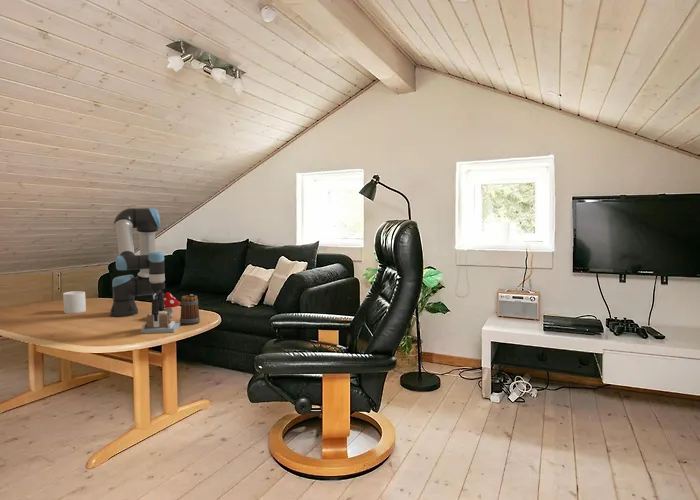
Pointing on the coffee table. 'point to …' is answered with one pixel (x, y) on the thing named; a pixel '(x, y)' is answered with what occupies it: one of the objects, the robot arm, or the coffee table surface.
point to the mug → (189, 310)
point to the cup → (74, 302)
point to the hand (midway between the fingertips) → (158, 325)
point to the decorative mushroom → (170, 303)
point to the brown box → (163, 320)
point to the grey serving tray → (170, 329)
